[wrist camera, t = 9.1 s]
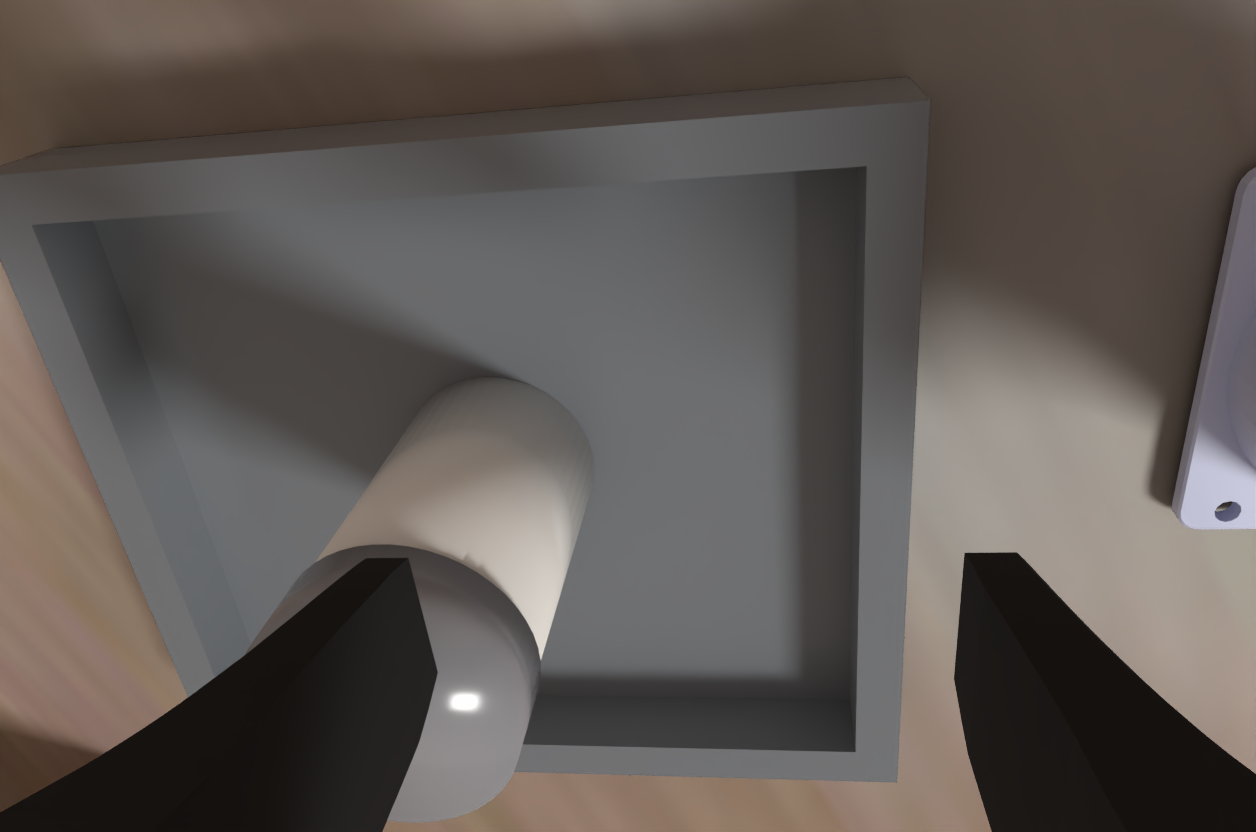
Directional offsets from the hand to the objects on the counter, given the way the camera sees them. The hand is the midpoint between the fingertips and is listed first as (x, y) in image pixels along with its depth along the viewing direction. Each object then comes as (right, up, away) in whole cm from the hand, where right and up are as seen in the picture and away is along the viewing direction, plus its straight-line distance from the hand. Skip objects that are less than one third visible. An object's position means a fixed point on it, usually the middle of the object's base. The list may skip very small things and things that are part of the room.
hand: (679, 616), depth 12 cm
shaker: (-4, +2, +10) cm, 10 cm away
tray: (-3, +2, +10) cm, 11 cm away
